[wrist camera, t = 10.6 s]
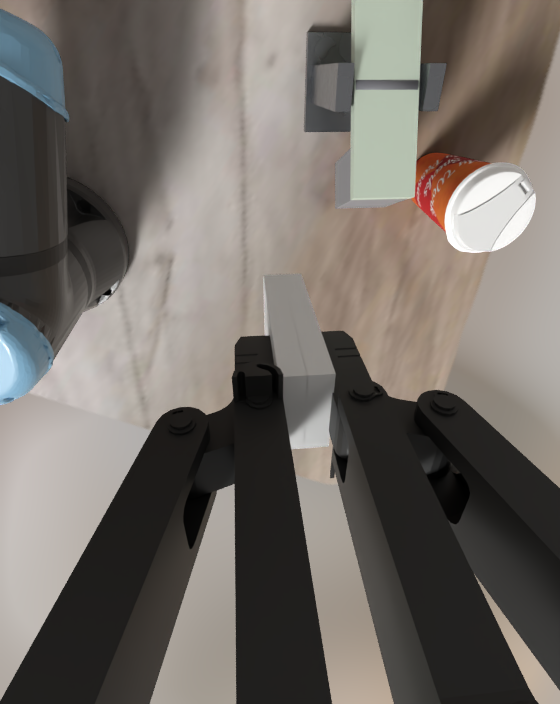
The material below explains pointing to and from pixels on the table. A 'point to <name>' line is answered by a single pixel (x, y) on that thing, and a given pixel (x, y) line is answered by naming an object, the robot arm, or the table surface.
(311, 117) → the stand
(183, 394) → the table surface
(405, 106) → the lever
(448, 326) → the table surface
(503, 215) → the paper cup
